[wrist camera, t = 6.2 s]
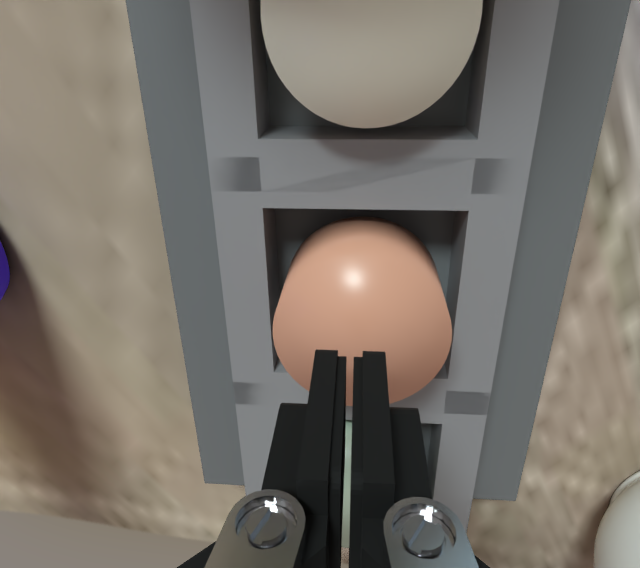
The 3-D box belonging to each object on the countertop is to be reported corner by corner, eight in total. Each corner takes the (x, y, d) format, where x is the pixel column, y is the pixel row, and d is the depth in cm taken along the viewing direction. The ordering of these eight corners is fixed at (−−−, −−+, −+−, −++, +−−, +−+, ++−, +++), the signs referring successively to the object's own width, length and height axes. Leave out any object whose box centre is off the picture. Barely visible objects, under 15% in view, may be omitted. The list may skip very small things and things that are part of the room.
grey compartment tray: (621, -166, 14) (735, -250, 10) (495, 472, 26) (522, 565, 21) (142, -145, 16) (52, -213, 11) (224, 457, 27) (195, 543, 22)
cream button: (470, -97, 13) (498, -129, 10) (451, 110, 15) (468, 128, 12) (275, -91, 13) (252, -119, 11) (284, 110, 16) (267, 128, 13)
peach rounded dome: (445, 217, 16) (462, 257, 13) (431, 352, 18) (443, 410, 15) (284, 215, 16) (267, 253, 13) (290, 348, 18) (277, 403, 16)
